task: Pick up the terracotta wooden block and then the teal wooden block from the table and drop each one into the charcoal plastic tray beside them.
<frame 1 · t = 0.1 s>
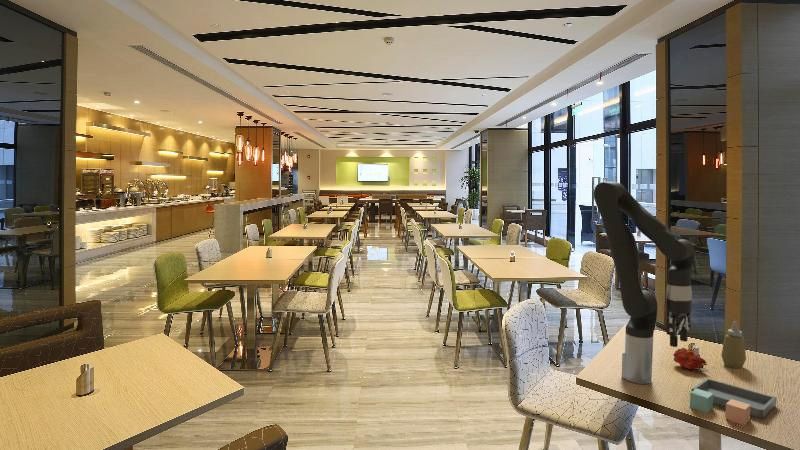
hand: (678, 343, 165), 17 cm above the table, tool pointing down, fingers open, 8 cm apart
squeeze bottle: (732, 366, 189), on the table
terracotta block: (737, 419, 147), on the table
tray: (732, 401, 159), on the table
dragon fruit: (689, 369, 187), on the table
teal block: (701, 407, 155), on the table
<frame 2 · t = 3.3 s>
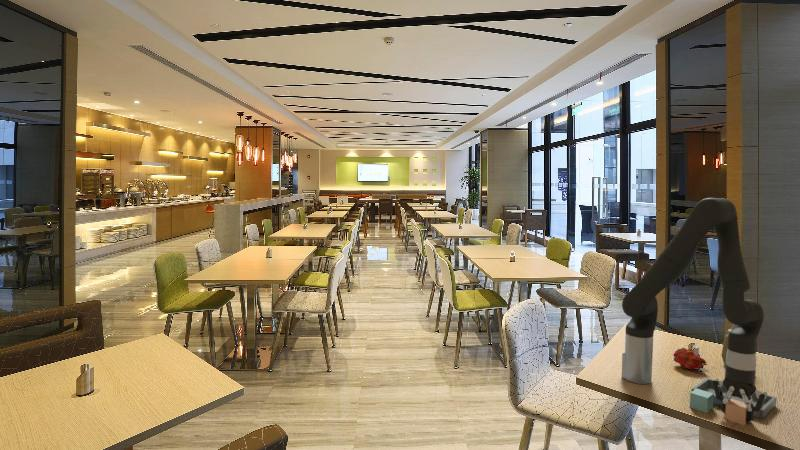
hand: (737, 417, 147), 0 cm above the table, tool pointing down, fingers closed on terracotta block, 5 cm apart
terracotta block: (737, 419, 147), on the table, touching gripper
everything else where it was.
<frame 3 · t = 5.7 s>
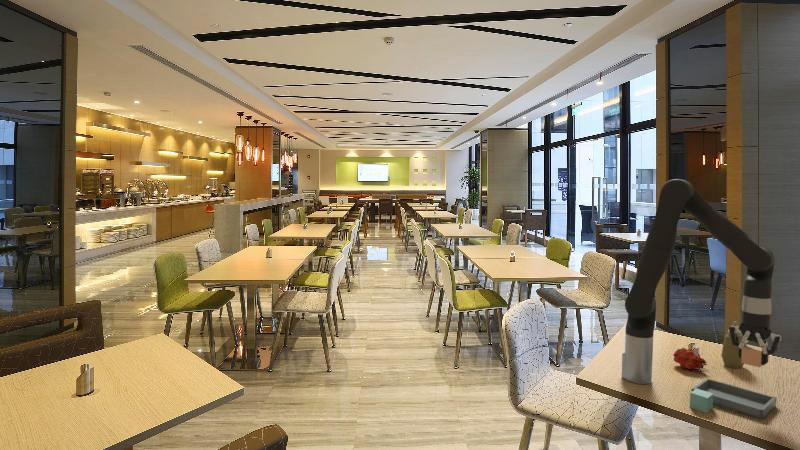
hand: (753, 361, 153), 15 cm above the table, tool pointing down, fingers closed on terracotta block, 5 cm apart
terracotta block: (752, 363, 153), point 15 cm above the table, touching gripper
everything else where it was.
when the fingers open (4 cm above the table, at t = 8.2 s): terracotta block drops 3 cm, resting on tray.
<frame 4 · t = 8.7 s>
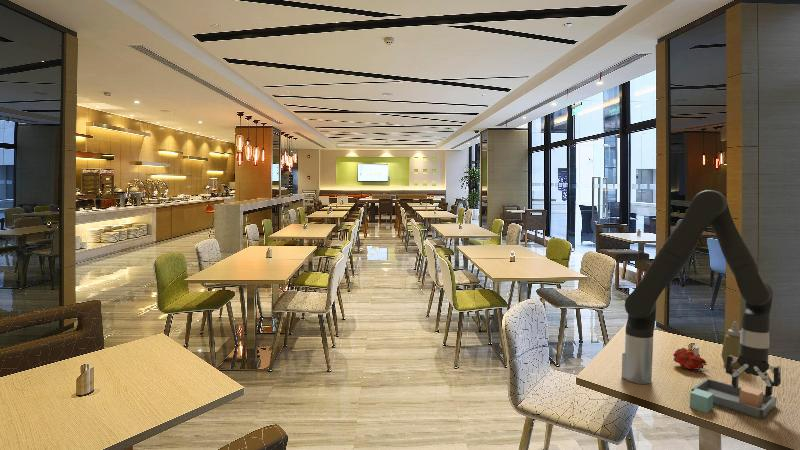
hand: (751, 392, 154), 5 cm above the table, tool pointing down, fingers open, 8 cm apart
terracotta block: (750, 405, 155), point 1 cm above the table, touching tray
everything else where it was.
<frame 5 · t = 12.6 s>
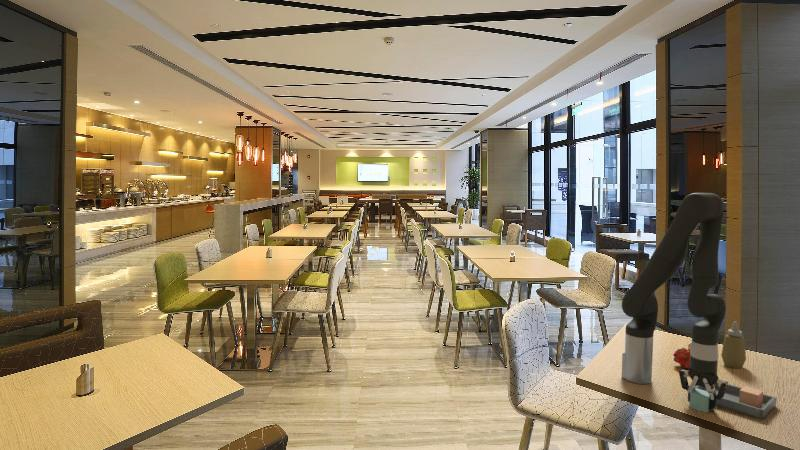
hand: (701, 406, 155), 0 cm above the table, tool pointing down, fingers closed on teal block, 5 cm apart
teal block: (701, 407, 155), on the table, touching gripper
everything else where it was.
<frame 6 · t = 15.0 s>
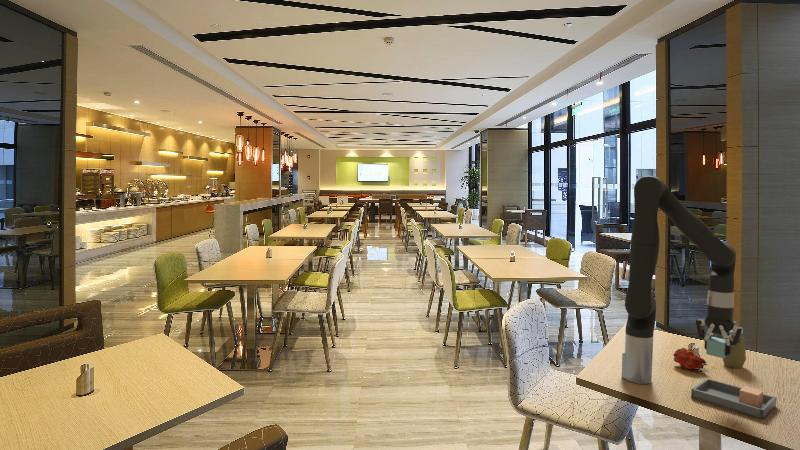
hand: (717, 353, 161), 15 cm above the table, tool pointing down, fingers closed on teal block, 5 cm apart
teal block: (717, 354, 161), point 15 cm above the table, touching gripper
everything else where it was.
when the fingers open (4 cm above the table, at t = 17.6 s): teal block drops 3 cm, resting on tray.
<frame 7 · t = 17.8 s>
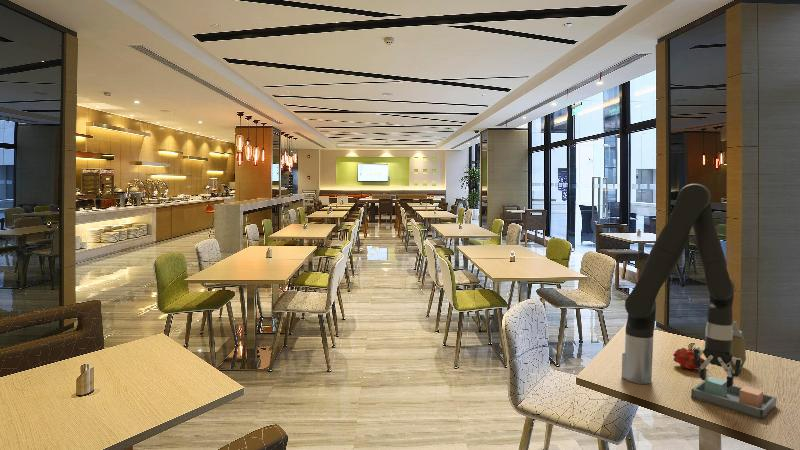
hand: (716, 383, 162), 5 cm above the table, tool pointing down, fingers open, 7 cm apart
teal block: (715, 394, 163), point 1 cm above the table, touching tray
everything else where it was.
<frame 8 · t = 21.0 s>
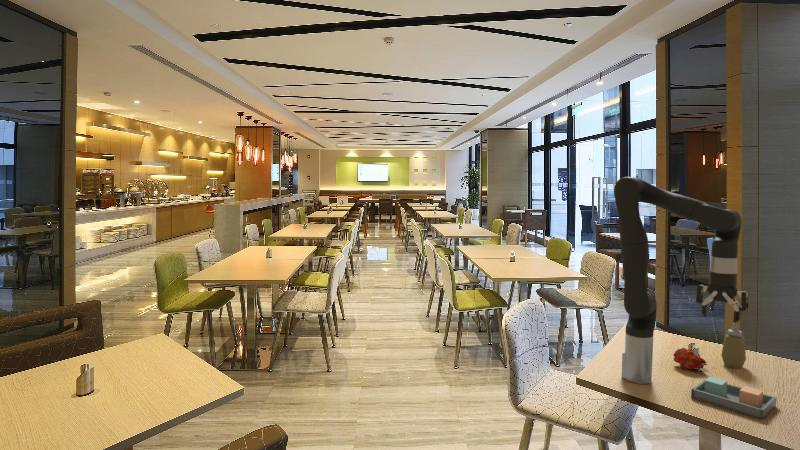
hand: (720, 319, 157), 28 cm above the table, tool pointing down, fingers open, 8 cm apart
nothing on the table moved.
at the end: terracotta block inside the target area on the tray (5.0 cm from its centre), point 0.6 cm above the tray's base; teal block inside the target area on the tray (5.0 cm from its centre), point 0.6 cm above the tray's base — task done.
